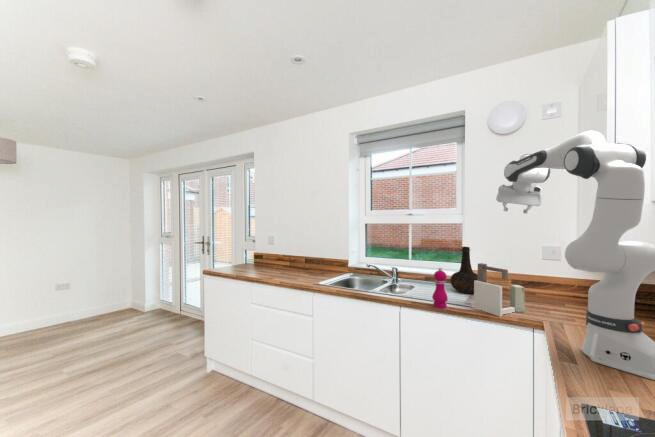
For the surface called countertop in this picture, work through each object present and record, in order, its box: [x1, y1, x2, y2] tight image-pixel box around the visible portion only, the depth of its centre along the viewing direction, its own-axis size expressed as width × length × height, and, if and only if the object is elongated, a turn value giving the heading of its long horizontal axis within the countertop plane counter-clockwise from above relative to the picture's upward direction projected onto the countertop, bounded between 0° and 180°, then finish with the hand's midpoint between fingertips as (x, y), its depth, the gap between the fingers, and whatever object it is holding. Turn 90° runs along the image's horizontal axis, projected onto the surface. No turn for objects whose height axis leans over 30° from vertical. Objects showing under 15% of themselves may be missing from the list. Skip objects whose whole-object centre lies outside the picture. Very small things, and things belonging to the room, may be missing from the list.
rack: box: [473, 281, 516, 318], centre depth 146 cm, size 14×12×14 cm
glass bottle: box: [450, 246, 478, 295], centre depth 182 cm, size 18×18×28 cm
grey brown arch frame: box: [477, 262, 509, 283], centre depth 148 cm, size 14×3×22 cm, turn 25°
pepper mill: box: [432, 267, 448, 309], centre depth 152 cm, size 7×7×20 cm
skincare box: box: [509, 284, 526, 313], centre depth 147 cm, size 6×4×12 cm
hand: (515, 212), depth 155 cm, fingers open, 8 cm apart
